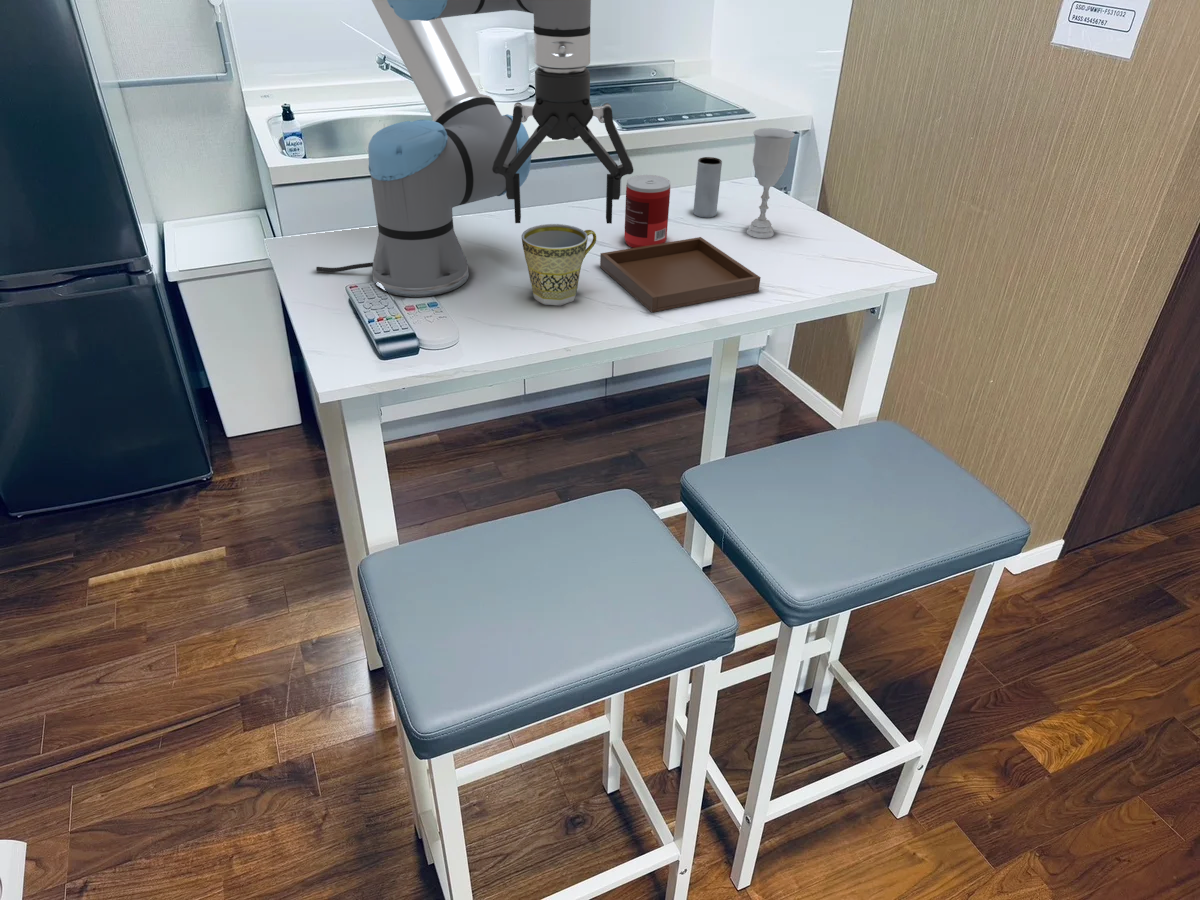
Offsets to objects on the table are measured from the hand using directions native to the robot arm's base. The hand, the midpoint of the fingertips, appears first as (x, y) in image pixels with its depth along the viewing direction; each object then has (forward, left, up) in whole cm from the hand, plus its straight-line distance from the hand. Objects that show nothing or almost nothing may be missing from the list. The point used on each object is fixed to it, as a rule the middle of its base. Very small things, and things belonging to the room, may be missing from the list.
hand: (563, 220), depth 125 cm
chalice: (+37, +27, -12) cm, 47 cm away
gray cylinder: (+28, +37, -12) cm, 48 cm away
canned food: (+15, +22, -12) cm, 29 cm away
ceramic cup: (0, 0, -12) cm, 12 cm away
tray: (+19, +6, -12) cm, 23 cm away
